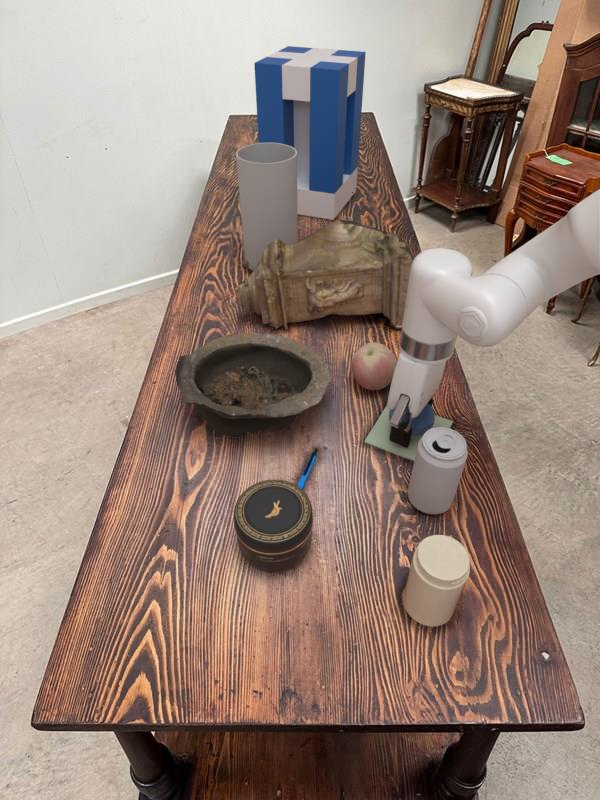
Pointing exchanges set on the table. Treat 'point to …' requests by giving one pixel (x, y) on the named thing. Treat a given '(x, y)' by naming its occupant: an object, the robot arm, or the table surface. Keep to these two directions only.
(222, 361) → the stone bowl
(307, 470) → the pen
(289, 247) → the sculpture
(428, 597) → the jam jar
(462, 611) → the table surface
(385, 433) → the coaster
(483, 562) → the table surface
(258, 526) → the jar
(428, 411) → the jar lid
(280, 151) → the cylinder vase
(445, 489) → the beverage can
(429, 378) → the robot arm
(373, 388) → the apple
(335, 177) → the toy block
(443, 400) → the table surface
